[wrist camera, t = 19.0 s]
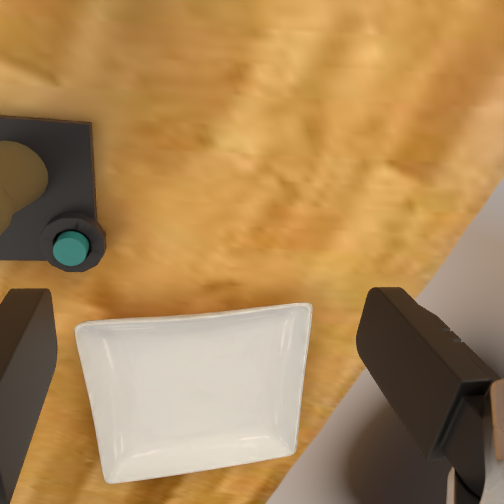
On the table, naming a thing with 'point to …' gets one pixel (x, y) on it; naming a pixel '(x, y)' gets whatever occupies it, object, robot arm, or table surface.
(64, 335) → the table surface
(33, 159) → the cork
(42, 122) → the scale
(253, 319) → the square plate
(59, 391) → the table surface
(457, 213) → the table surface
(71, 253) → the button
